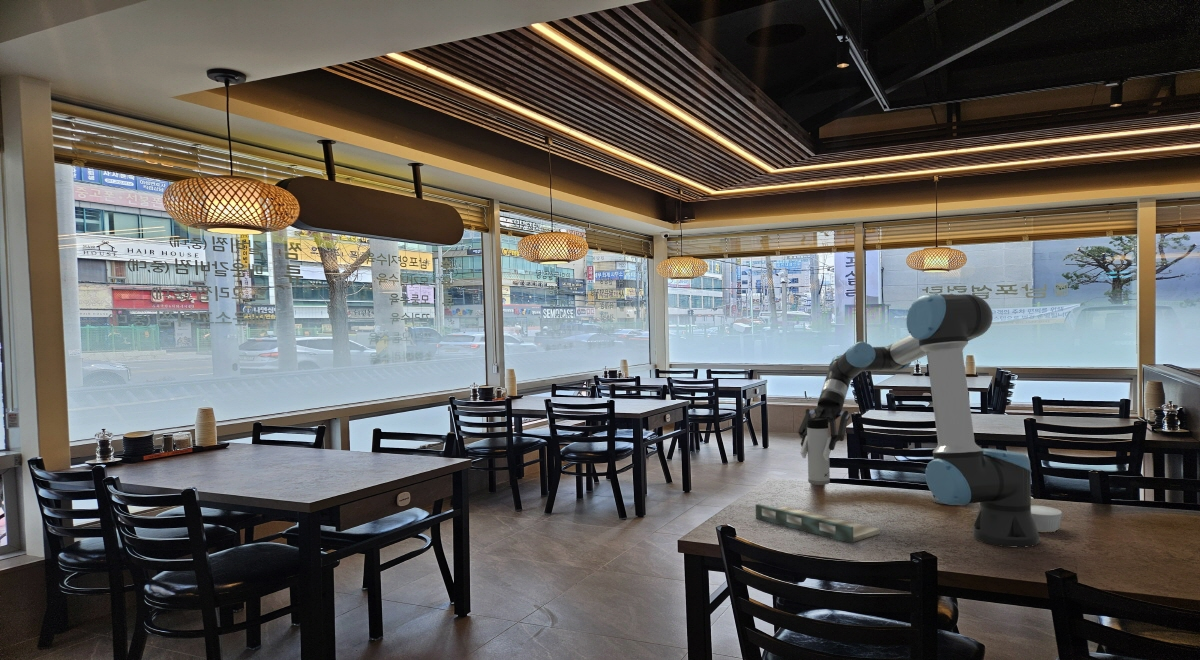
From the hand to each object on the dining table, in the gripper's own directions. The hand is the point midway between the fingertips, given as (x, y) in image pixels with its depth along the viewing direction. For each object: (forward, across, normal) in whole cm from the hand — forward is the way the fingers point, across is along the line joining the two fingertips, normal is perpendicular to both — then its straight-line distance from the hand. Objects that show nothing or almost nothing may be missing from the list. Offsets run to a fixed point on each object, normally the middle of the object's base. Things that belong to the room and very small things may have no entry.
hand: (814, 456), depth 219 cm
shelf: (+20, -4, -4) cm, 21 cm away
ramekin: (-1, -55, -27) cm, 61 cm away
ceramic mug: (-15, -28, -40) cm, 51 cm away
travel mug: (+4, 0, -9) cm, 9 cm away
